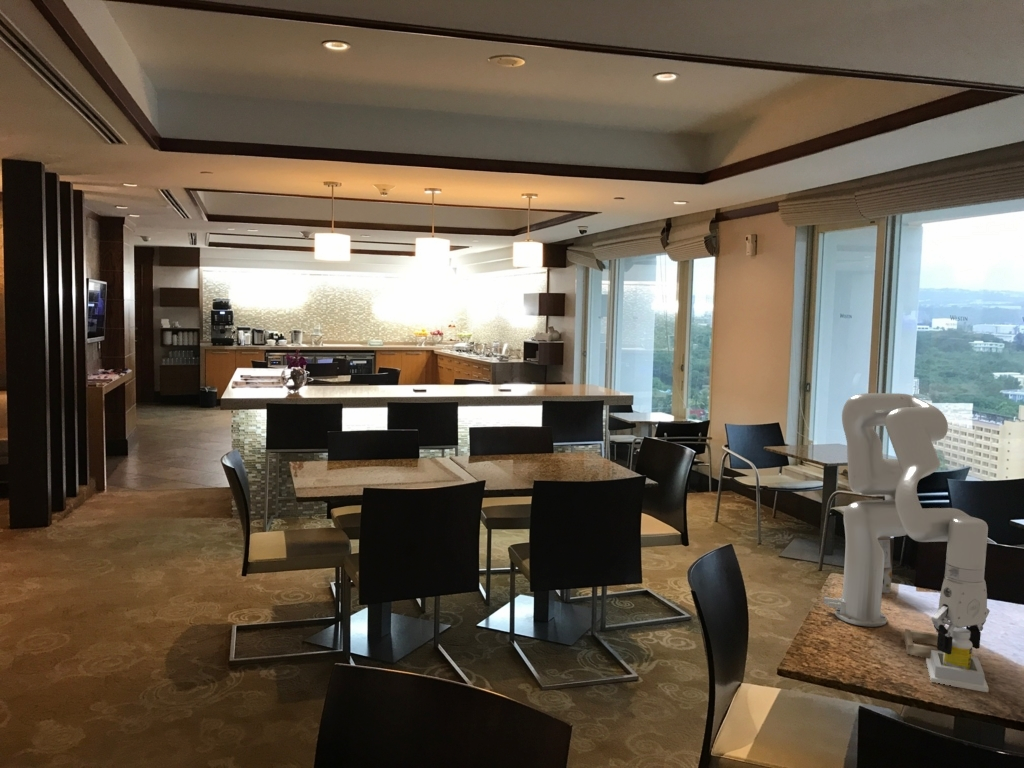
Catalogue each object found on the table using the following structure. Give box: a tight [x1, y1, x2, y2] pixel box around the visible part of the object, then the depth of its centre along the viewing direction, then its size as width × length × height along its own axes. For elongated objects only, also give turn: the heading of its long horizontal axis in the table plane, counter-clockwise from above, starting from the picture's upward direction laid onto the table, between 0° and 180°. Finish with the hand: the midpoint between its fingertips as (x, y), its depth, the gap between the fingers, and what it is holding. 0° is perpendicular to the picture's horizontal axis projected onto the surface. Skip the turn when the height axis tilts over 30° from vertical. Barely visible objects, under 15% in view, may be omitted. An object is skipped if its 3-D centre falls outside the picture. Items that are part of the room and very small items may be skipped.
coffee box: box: [878, 537, 895, 594], centre depth 236 cm, size 9×6×16 cm
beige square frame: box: [903, 628, 942, 659], centre depth 193 cm, size 10×10×2 cm
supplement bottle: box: [942, 627, 973, 670], centre depth 179 cm, size 5×5×10 cm
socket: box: [925, 650, 989, 693], centre depth 179 cm, size 11×11×4 cm
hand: (958, 648), depth 179 cm, fingers open, 8 cm apart
